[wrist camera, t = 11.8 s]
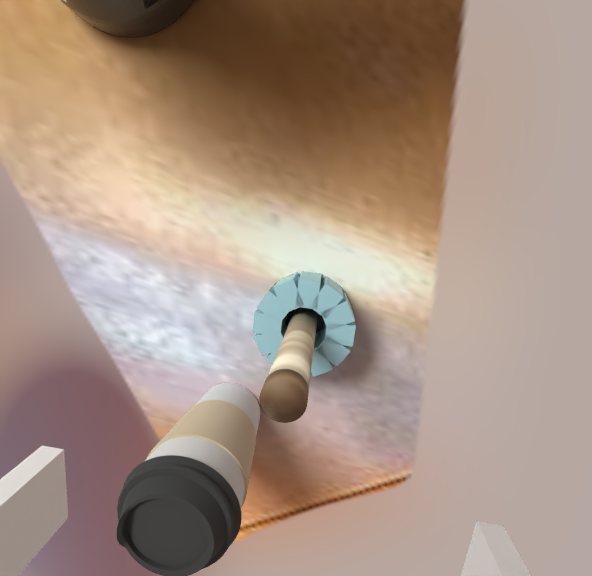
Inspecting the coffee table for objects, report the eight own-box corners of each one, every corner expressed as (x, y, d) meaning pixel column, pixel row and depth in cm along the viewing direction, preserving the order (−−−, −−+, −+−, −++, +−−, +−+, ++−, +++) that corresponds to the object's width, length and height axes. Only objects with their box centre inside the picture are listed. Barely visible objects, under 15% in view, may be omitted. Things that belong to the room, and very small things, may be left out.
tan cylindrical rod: (294, 303, 33) (261, 375, 17) (319, 306, 33) (309, 382, 17) (291, 327, 33) (257, 418, 18) (316, 330, 33) (304, 426, 17)
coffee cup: (277, 383, 35) (240, 503, 20) (263, 455, 37) (221, 611, 22) (195, 365, 35) (102, 468, 21) (186, 437, 37) (95, 578, 23)
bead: (266, 266, 32) (258, 273, 28) (358, 278, 32) (362, 286, 28) (258, 351, 34) (249, 368, 30) (344, 364, 34) (346, 383, 30)
